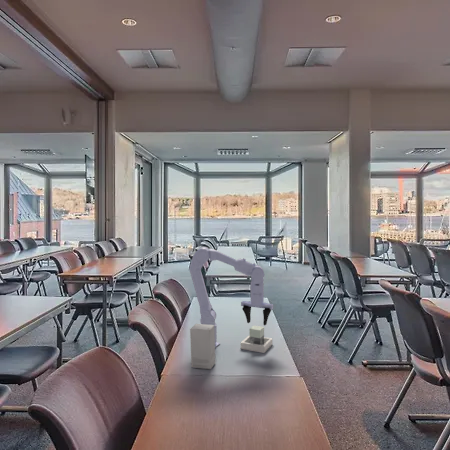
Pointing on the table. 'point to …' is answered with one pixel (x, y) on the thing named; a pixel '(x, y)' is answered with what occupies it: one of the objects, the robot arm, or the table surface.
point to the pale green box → (256, 331)
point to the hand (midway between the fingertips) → (256, 323)
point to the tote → (256, 345)
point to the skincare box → (202, 346)
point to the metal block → (257, 340)
